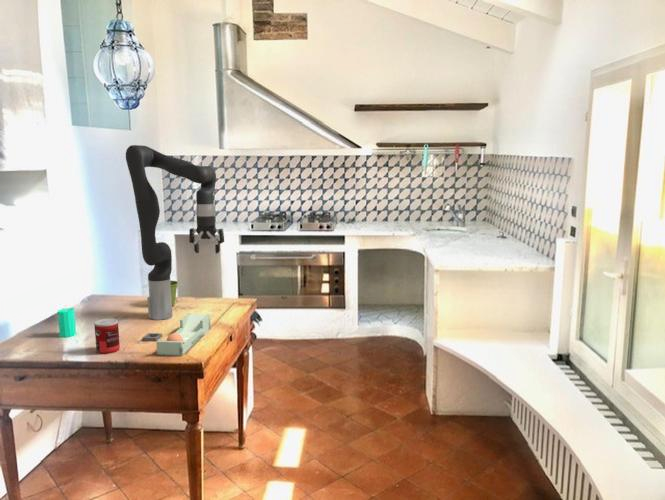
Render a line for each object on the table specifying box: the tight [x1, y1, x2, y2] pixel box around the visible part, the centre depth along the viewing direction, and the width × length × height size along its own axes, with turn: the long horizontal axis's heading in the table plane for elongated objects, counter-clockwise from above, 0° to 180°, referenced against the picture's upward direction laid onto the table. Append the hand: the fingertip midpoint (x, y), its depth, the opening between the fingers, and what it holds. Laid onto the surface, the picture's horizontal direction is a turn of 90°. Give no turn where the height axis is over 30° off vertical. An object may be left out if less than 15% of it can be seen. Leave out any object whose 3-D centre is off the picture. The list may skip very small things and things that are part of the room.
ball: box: [165, 332, 183, 341], centre depth 191 cm, size 6×6×6 cm
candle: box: [57, 305, 77, 339], centre depth 208 cm, size 6×6×12 cm
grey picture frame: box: [142, 332, 163, 342], centre depth 205 cm, size 6×6×1 cm
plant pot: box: [170, 279, 180, 307], centre depth 250 cm, size 12×12×11 cm
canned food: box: [94, 318, 121, 355], centre depth 191 cm, size 8×8×11 cm
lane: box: [155, 313, 211, 357], centre depth 202 cm, size 9×32×6 cm, turn 174°
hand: (207, 253), depth 221 cm, fingers open, 8 cm apart
